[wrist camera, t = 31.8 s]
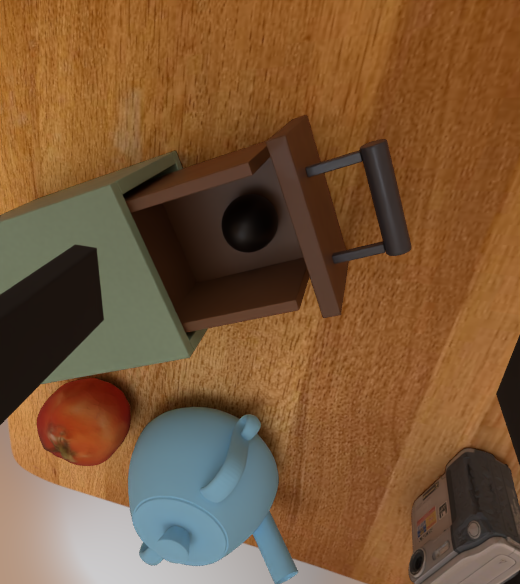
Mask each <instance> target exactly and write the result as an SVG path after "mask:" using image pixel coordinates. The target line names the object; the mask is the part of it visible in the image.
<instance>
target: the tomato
mask: <svg viewBox="0 0 520 584" xmlns="http://www.w3.org/2000/svg"><path fill="white" fill-rule="evenodd" d="M130 421H131V412H130V405H129V403H128V401H127V399H126V397H125V395H124V393H123V392H122V391H121V390H120V389H118V388H117V387H116V386H114V385H113V384H111V383H108V382H105V381H102V380H100V379H97V378H84V379H79V380H76V381H72V382H68V383H66V384H64V385H63V386H61V387H60V388H59V389H58V390H57V391H56V392H55V393H54V394H52V395H51V396H50V397H49V398H48V400H47V401H46V402H45V403H44V405H43V407H42V408H41V410H40V412H39V414H38V418H37V429H38V434H39V437H40V441H41V442H42V445H43V447H44V449H45V450H47V451H49V452H51V453H53V454H54V455H55V456H57V457H60V458H62V459H64V460H67V461H68V462H70V463H73V464H75V465H82V466H93V465H98V464H101V463H103V462H104V461H106V460H107V459H108V458H110V457H111V455H112V454H113V453H114V452H115V451H116V450H117V449H118V448H119V446H120V445H121V444H122V442H123V441H124V439H125V437H126V436H127V434H128V432H129V428H130Z"/></svg>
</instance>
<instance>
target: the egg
mask: <svg viewBox="0 0 520 584" xmlns="http://www.w3.org/2000/svg"><path fill="white" fill-rule="evenodd" d="M221 226H222V233H223V236H224V238H225V240H226V242H227V243H228V244H229V245H230V246H231V247H232V248H234V249H235V250H238V251H240V252H246V253H250V252H255V251H258V250H261V249H263V248H264V247H266V246H267V245H268V244H269V243H270V242H271V241H272V240H273V238H274V236H275V234H276V232H277V228H278V215H277V212H276V210H275V208H274V206H273V205H272V204H271V202H270V201H268V200H267V199H266V198H264V197H262V196H259V195H255V194H247V195H243V196H240V197H238V198H236V199H235V200H233V201H232V202H231V203H230V204H229V205H228V207H227V208H226V210H225V212H224V214H223V217H222V224H221Z"/></svg>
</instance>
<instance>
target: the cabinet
mask: <svg viewBox="0 0 520 584" xmlns="http://www.w3.org/2000/svg"><path fill="white" fill-rule="evenodd" d="M181 169H183V167H182V165H181V162H180V160H179V157H178V155H177V152H176V151H172V152H169V153H166V154H164V155H161V156H158V157H155V158H152V159H149V160H146V161H144V162H141V163H138V164H135V165H132V166H129V167H127V168H124V169H121V170H118V171H115V172H112V173H109V174H107V175H104V176H101V177H98V178H95V179H92V180H90V181H87V182H84V183H81V184H78V185H75V186H72V187H70V188H67V189H64V190H61V191H58V192H55V193H53V194H50V195H47V196H44V197H41V198H38V199H35V200H33V201H31V202H29V203H26V204H24V205H22V206H20V207H18V208H15V209H13V210H11V211H9V212H6V213H4V214H2V215H0V294H2V293H3V292H5V291H6V290H8V289H9V288H11V287H12V286H14V285H15V284H17V283H18V282H20V281H21V280H23V279H24V278H26V277H27V276H29V275H30V274H32V273H33V272H35V271H36V270H38V269H39V268H41V267H42V266H44V265H45V264H47V263H48V262H50V261H51V260H53V259H54V258H56V257H57V256H59V255H60V254H62V253H63V252H65V251H66V250H68V249H69V248H71V247H72V246H73V245H75V244H76V245H82V246H88V247H94V248H97V256H98V266H99V275H100V285H101V295H102V305H103V315H104V320H103V321H102V322H101V323H100V325H99V326H98V327H97V328H96V329H95V330H94V331H93V332H92V333H91V334H90V335H89V336H88V337H87V338H86V339H85V340H84V341H83V342H82V343H81V344H80V345H79V346H78V347H77V348H76V349H75V350H74V351H73V352H72V353H71V354H70V355H69V356H68V357H67V358H66V359H65V360H64V361H63V362H62V363H61V364H60V365H59V366H58V367H57V368H56V369H55V370H54V371H53V372H52V373H51V374H50V375H49V376H48V377H47V378H46V379H45V380H44V381H43V382H42V383H41V384H45V383H51V382H56V381H62V380H67V379H73V378H79V377H84V376H90V375H95V374H101V373H107V372H112V371H118V370H123V369H129V368H135V367H140V366H146V365H151V364H157V363H163V362H168V361H174V360H179V359H185V358H190V357H191V355H192V353H193V352H194V351H195V349H196V347H197V346H198V344H199V342H200V341H201V339H202V337H203V336H204V334H205V332H206V331H207V329H208V328H207V329H202V330H197V331H192V332H186V333H185V330H184V328H183V326H182V324H181V322H180V320H179V317H178V315H177V313H176V311H175V309H174V306H173V304H172V302H171V300H170V298H169V296H168V293H167V291H166V289H165V287H164V285H163V282H162V280H161V278H160V276H159V274H158V271H157V269H156V267H155V265H154V263H153V261H152V258H151V256H150V254H149V252H148V250H147V247H146V245H145V243H144V241H143V239H142V237H141V234H140V232H139V230H138V228H137V226H136V223H135V221H134V219H133V217H132V215H131V213H130V210H129V208H128V206H127V204H126V202H125V199H124V197H123V195H124V194H126V193H128V192H129V191H131V190H133V189H134V188H136V187H138V186H140V185H141V184H143V183H145V182H146V181H148V180H151V179H154V178H157V177H160V176H163V175H166V174H169V173H172V172H175V171H178V170H181Z"/></svg>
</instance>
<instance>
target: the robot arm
mask: <svg viewBox="0 0 520 584" xmlns="http://www.w3.org/2000/svg"><path fill="white" fill-rule="evenodd" d="M103 320H104V315H103V305H102V295H101V285H100V275H99V266H98V256H97V248H94V247H88V246H82V245H76V244H75V245H73V246H72V247H71V248H69V249H68V250H66V251H65V252H63V253H62V254H60V255H59V256H57V257H56V258H54V259H53V260H51V261H50V262H48V263H47V264H45V265H44V266H42V267H41V268H39V269H38V270H36V271H35V272H33V273H32V274H30V275H29V276H27V277H26V278H24V279H23V280H21V281H20V282H18V283H17V284H15V285H14V286H12V287H11V288H9V289H8V290H6V291H5V292H3V293H2V294H0V425H1V424H2V423H3V422H4V420H6V419H7V418H8V417H9V416H10V415H11V414H12V413H13V412H14V411H15V410H16V409H17V408H18V407H19V406H20V405H21V404H22V403H23V402H24V401H25V399H26V398H27V397H28V396H29V395H30V394H31V393H32V392H33V391H34V390H35V389H36V388H37V387H38V386H39V385H40V384H41V383H42V382H43V381H44V380H45V379H46V378H47V377H48V376H49V375H50V374H51V373H52V372H53V371H54V370H55V369H56V368H57V367H58V366H59V365H60V364H61V363H62V362H63V361H64V360H65V359H66V358H67V357H68V356H69V355H70V354H71V353H72V352H73V351H74V350H75V349H76V348H77V347H78V346H79V345H80V344H81V343H82V342H83V341H84V340H85V339H86V338H87V337H88V336H89V335H90V334H91V333H92V332H93V331H94V330H95V329H96V328H97V327H98V326H99V325H100V323H101V322H102V321H103ZM496 395H497V398H498V401H499V404H500V407H501V410H502V413H503V416H504V419H505V422H506V425H507V428H508V431H509V434H510V437H511V440H512V443H513V446H514V449H515V452H516V455H517V458H518V461H519V465H520V336H519V338H518V341H517V343H516V346H515V348H514V351H513V353H512V356H511V358H510V361H509V363H508V366H507V368H506V371H505V373H504V376H503V378H502V381H501V383H500V386H499V388H498V391H497V393H496Z"/></svg>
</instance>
